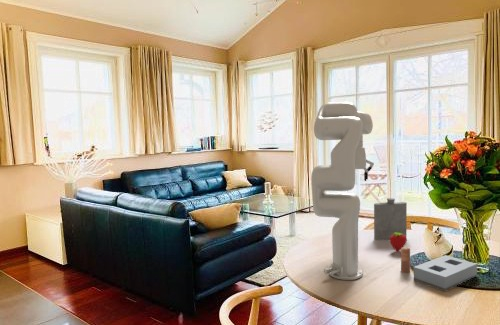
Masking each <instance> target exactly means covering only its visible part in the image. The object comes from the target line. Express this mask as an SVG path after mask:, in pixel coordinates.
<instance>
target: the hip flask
mask: <svg viewBox="0 0 500 325" xmlns="http://www.w3.org/2000/svg"><path fill="white" fill-rule="evenodd" d="M395 200H396V199H395V198H394V197H388V198H386V201H387V202H379V203H377V202H376V203H373V230H374V232H373V234H374V235H373V239H374V240H375V241H390V237H391V236H392V235H394V232H396V233H402V234H404V236H406V237H407V210H408V209H407V206H408V205H407V202H405V201H400V202H399V201H398V202H395Z"/></svg>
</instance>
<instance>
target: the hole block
mask: <svg viewBox="0 0 500 325" xmlns="http://www.w3.org/2000/svg"><path fill="white" fill-rule="evenodd" d="M477 274H478V263H475V262H471V261H468V260H465V259H460V258H457V257H453V256H450V255H446V254H444V255H441V256H439V257H437V258H434V259H431V260H429V261H426V262H423V263H420V264H418V265H415V266H413V281H414V282H417V283H421V284H423V285H426V286H428V287H432V288H434V289H438V290H440V291H442V292H447V291H450V290H452V289H453V288H454V289H455V287H458V286H459V285H458V284H459V283H461V282H464V281H466V280H468V279H471V278H473V277H475V276H477ZM471 280H472V279H471ZM457 285H458V286H457Z"/></svg>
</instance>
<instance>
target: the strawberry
mask: <svg viewBox="0 0 500 325" xmlns="http://www.w3.org/2000/svg"><path fill="white" fill-rule="evenodd" d="M407 240H408V239H407V235H406V236H404V234H402V233H396V232H394V235H392V236H391V237H390V240H389V242H390V245H391V247H392V248H394V250H395V252H401V248H402V247H405V245H406V243H407Z"/></svg>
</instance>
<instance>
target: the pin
mask: <svg viewBox="0 0 500 325" xmlns="http://www.w3.org/2000/svg"><path fill="white" fill-rule="evenodd" d="M400 272H402V273H406V274H409V273H411V248H410V247H407V246H403V247H402V248H401V250H400Z"/></svg>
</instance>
